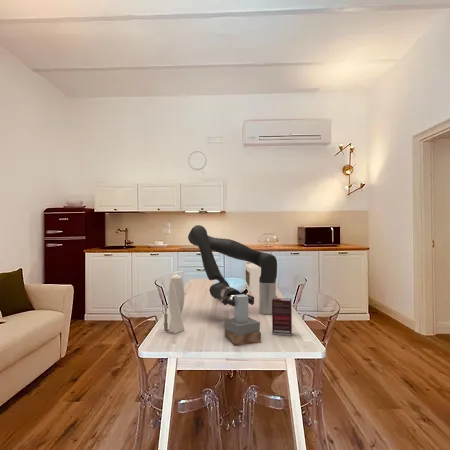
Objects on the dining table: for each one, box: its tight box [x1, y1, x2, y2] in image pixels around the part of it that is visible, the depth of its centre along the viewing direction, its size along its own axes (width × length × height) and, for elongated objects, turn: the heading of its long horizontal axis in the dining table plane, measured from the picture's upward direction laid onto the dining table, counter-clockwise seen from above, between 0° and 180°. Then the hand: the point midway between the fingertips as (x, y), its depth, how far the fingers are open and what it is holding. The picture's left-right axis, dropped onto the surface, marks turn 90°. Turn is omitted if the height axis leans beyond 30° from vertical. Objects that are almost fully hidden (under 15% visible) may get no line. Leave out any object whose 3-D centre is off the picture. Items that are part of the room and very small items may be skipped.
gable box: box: [244, 261, 261, 293], centre depth 258 cm, size 22×13×28 cm, turn 8°
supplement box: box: [271, 297, 293, 337], centre depth 154 cm, size 9×5×16 cm, turn 74°
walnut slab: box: [224, 328, 262, 346], centre depth 147 cm, size 12×12×4 cm
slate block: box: [233, 293, 249, 323], centre depth 146 cm, size 5×5×11 cm
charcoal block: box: [224, 316, 261, 336], centre depth 147 cm, size 11×11×4 cm
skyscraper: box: [163, 270, 185, 335], centre depth 158 cm, size 8×8×28 cm
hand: (243, 303), depth 145 cm, fingers open, 8 cm apart
